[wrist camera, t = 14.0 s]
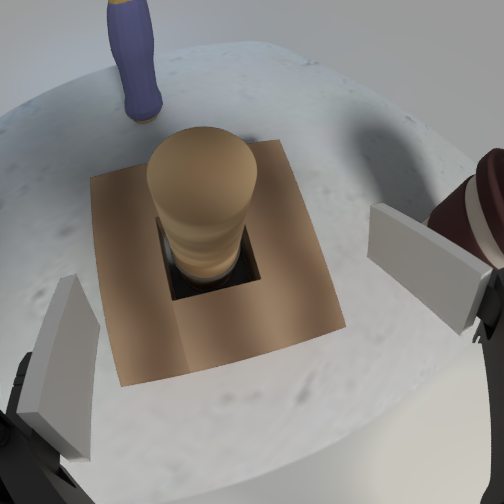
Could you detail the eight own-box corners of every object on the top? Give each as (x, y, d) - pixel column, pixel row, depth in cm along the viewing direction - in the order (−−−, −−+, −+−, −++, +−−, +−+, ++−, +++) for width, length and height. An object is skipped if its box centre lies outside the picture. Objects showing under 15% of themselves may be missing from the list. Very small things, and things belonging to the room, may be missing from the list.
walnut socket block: (135, 381, 21) (121, 386, 18) (104, 200, 26) (90, 177, 22) (326, 330, 24) (346, 326, 21) (270, 164, 29) (279, 139, 25)
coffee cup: (396, 301, 26) (524, 252, 12) (391, 205, 29) (484, 117, 15) (465, 306, 27) (576, 269, 13) (457, 222, 30) (547, 160, 16)
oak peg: (185, 299, 24) (151, 235, 11) (172, 244, 25) (138, 136, 12) (242, 284, 25) (276, 208, 12) (227, 231, 26) (243, 117, 13)
